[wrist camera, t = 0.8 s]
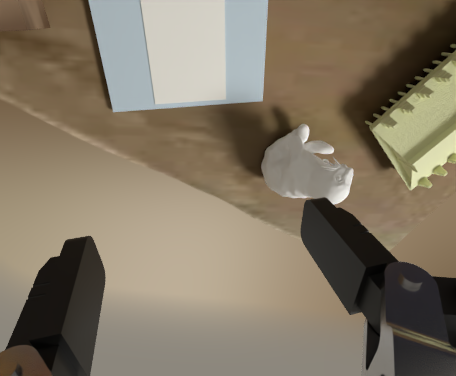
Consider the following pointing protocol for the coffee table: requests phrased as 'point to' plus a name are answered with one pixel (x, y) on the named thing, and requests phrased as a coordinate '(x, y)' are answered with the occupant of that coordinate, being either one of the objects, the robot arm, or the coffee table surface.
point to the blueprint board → (181, 51)
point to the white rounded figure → (304, 169)
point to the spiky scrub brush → (421, 125)
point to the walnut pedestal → (22, 15)
